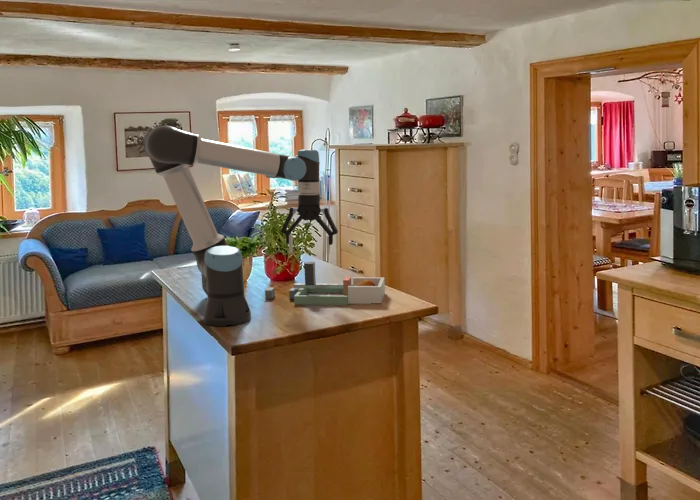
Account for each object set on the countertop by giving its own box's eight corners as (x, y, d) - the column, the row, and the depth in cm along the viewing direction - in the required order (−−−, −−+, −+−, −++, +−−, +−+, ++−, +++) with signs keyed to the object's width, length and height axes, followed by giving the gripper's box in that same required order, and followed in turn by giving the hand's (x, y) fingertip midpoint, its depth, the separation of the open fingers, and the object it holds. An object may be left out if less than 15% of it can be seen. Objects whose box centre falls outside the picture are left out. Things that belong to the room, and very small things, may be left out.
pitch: (260, 304, 225) (259, 295, 224) (273, 291, 243) (273, 282, 242) (347, 305, 221) (347, 296, 220) (354, 291, 238) (354, 283, 238)
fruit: (377, 298, 223) (365, 278, 223) (359, 308, 225) (347, 289, 225) (383, 292, 230) (371, 273, 230) (365, 302, 233) (354, 283, 233)
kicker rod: (292, 298, 230) (291, 264, 227) (296, 294, 235) (295, 261, 233) (349, 298, 227) (348, 264, 224) (351, 294, 232) (350, 261, 230)
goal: (348, 303, 223) (347, 286, 221) (353, 293, 237) (353, 277, 235) (381, 303, 221) (380, 287, 220) (384, 293, 235) (384, 277, 234)
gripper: (271, 194, 223) (273, 254, 226) (342, 195, 219) (342, 256, 223) (277, 192, 230) (278, 250, 234) (345, 193, 227) (345, 252, 230)
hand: (309, 253), depth 228 cm, fingers open, 13 cm apart
